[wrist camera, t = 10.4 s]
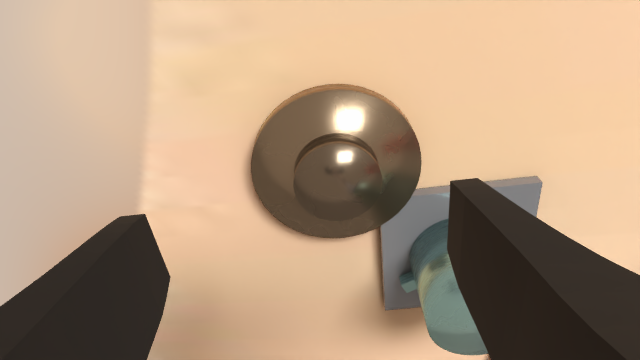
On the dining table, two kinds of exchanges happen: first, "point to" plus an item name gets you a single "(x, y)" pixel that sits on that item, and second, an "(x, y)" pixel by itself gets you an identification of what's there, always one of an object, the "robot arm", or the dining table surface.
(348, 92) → the bronze metal disc
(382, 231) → the coaster
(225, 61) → the dining table surface
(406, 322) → the dining table surface
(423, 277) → the teal mug
